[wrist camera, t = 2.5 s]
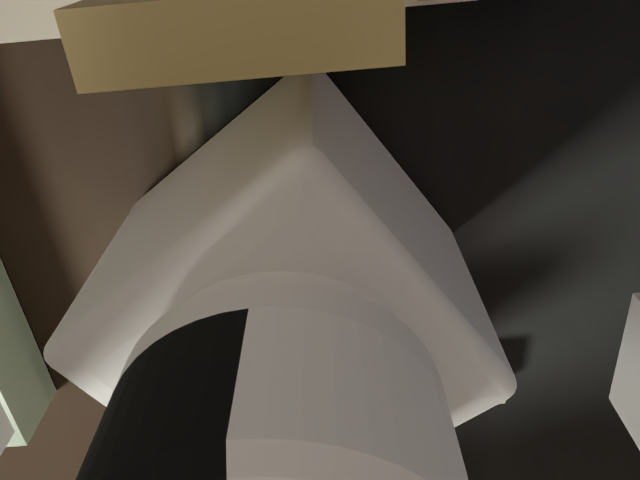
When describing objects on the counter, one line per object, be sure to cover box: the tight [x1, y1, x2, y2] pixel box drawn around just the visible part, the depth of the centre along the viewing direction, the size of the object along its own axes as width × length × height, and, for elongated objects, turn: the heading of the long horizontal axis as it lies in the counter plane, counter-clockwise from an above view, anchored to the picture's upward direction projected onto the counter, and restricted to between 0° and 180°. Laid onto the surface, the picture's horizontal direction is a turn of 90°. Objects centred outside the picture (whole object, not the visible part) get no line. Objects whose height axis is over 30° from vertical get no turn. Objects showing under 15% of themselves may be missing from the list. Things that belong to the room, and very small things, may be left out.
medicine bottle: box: [43, 73, 517, 480], centre depth 12 cm, size 7×7×12 cm
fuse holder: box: [0, 0, 506, 404], centre depth 15 cm, size 14×15×7 cm
